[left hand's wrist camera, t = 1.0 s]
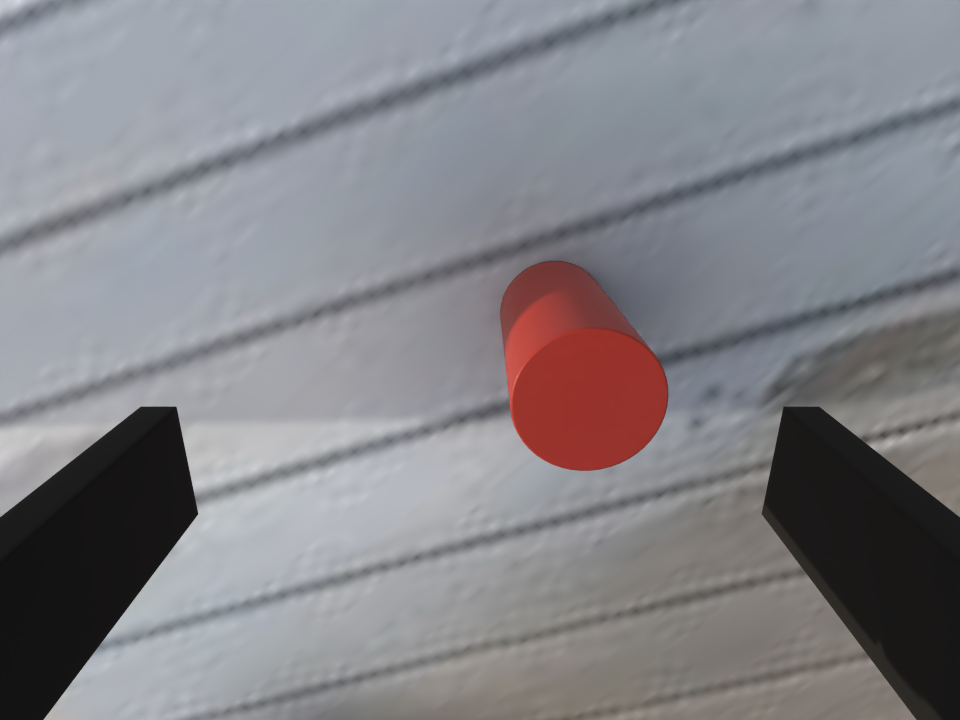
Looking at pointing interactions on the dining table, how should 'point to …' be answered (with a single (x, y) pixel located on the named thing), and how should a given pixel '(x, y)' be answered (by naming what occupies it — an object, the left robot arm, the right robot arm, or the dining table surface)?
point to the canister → (577, 370)
